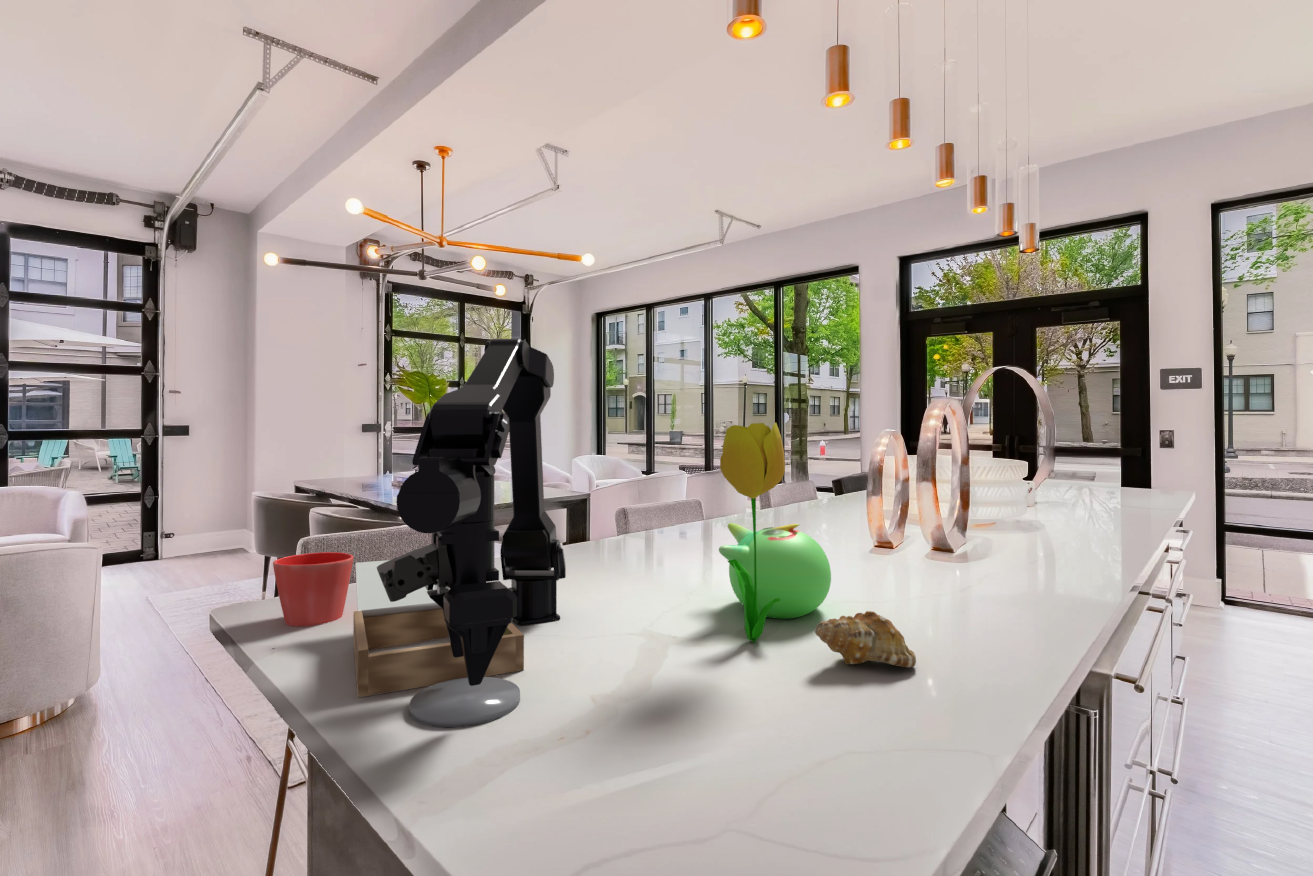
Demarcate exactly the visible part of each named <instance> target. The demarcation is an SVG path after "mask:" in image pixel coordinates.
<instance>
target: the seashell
mask: <svg viewBox="0 0 1313 876" xmlns="http://www.w3.org/2000/svg"><path fill="white" fill-rule="evenodd" d="M814 633H815V635H816V636H817V637H818V638H819V639H820V640H821V641H822V643H825V644H826V645H827V647H828V648H829V649H830V650H831V651H832V652H834V653H838V654H840V655H841V657H842V658H843V659H844V663H845V664H846V665H855V664H859V665H860V664H863V663H865V662H868V661H873V662H879V663H884V664H887V665H892V666H897V667H903V668H913V667H915V666H916V665H917V664H916V663H917V657H916V654H915V652H914V651H913V650H911V649H910V648H909V647H908V645H907V643H906V641H905V637H904V636H903V634H902V632H900V630H899V629H897V628H896V626H895V625H894V624H893V622H892V621H891V620H890V619H889V618H886V617H884V616H882V615H880V614H877V613H876V612H875V611H872V610H866V611H865V612H864V613H862V612H857V613H856V614H855V615H854V616H852V615H848V616H845V615H841V616H839V618H838V619H836V618H830V619H828V620H823V621H821V622H818V623H817V624H816V626H815V629H814Z"/></svg>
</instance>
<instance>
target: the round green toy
mask: <svg viewBox="0 0 1313 876" xmlns="http://www.w3.org/2000/svg"><path fill="white" fill-rule="evenodd" d="M800 525H801V524H800V523H792V524H786V525H782V526H781V525H780V526H774V527H773V526H771V527H765V528H762V529H760V530H756V572H757V605H758V609H759V612H760V613H761V611H762V609H763V608H764V606H766V605H767V604H768V603H770V602H771V601H772V600H774V599H775V598H776V599H777V598H778V599H780V601H778V602H775V603H773V606H772V607H771V608H770V610H769V612H768V614H767V617H766V618H769V619H779V620H780V619H781V620H784V619H785V620H788V619H796V618H800V617H803V616H805V615H808V614H810V613H811V612H813V611H815V610H816V609H817V608H819V607H820V606H821V605H822V603H824V601H825V599H826V598H827V596H828V594H829V592H830V588H831V583H832V572H831V565H830V562H829V561H830V560H829V559H828V557H827V554H826V552H825V551H824V549H823V547H822V546H821V544H819V542H817V541H816V539H814V538H813V537H812V536H810V535H808V534H806V533H805V532H802V531H800V530H797V529H796V528H797V527H799V526H800ZM727 528H728V530H729V532H730V534H731V535H732V536H733V537H734V539H735V540H736V542H737V544H735V545H734V544H723V545H720V546H719V547H718V552H719V554H721V556H723V557H724V559H726V560H727V561H729V560H735V559H736V560H737V561H738V562H739V563H740V564H741V565H742V566H743V567H744V569H745V570H746V571H747V572H748V574H749V575H750V576H751V579H752V582H753V585H754V535H753V530H750V529H748V528H746V527H744V526H742V525H739V524H737V523H734V522H729V523H727ZM728 569H729V570H728V575H729V582H730V585H731V588H732V591H733V593H734V595H735V596H736V598H737V599H738V601H739V602H740V604H742V605H743V606H744V600H743V596H742V592H741V589H740V586H739V582H738V576H737V573H736V570H735V568H734V567H733V566H732V565H731V564H730V563H728Z"/></svg>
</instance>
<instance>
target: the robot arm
mask: <svg viewBox="0 0 1313 876" xmlns="http://www.w3.org/2000/svg"><path fill="white" fill-rule="evenodd" d="M554 372H555V370H554V364H553V362H552V360H551V359H550V357H549V355H548V354H547V353H545V352H543V351H541V350H538V349H537V348H534V347H533V346H532V347H531V346H530V344H529V343H528V342H527V341H526V340H522V339H521V338H491V339H490V340H487V341H486V342H485V344H484V351H483V355H482V356H481V357H480V359H479V361H478V363H477V364H476V366H475V368H474V369H473V371H472V372H471V373H470V376H469V377H468V378H467V380H466V382H465V383H464V385H463V386H462V387H461V388H459V389H456V390H453V391H449V392H446V393H444V394H443V395H442V396H441V397H440V398H439V399H438V400H436V401H435V403H433V405H432V406H431V408H430V410H429V411H428V412H427V415H426V417H425V419H424V422H423V426H422V429H421V432H420V435H419V438H418V442H417V444H416V448H415V451H414V454H413V458H412V460H411V461H412V462H411V463H412V465H413V466H415V467H417V466H418V471H415V472H414V473H412V474H410V475H409V476H408V477H407V478H406V479H405V480H404V481H403V483H402V484H401V486H400V488H399V490H398V493H397V495H396V508H397V509H396V510H397V512H398V516H400V518H401V520H402V521H403V523H404V524H405V525H406V526H407V527H409V528H410V529H412V530H413V531H415V532H417V533H422V534H431V543H430V544H428V545H425V546H422V547H420V548H417V549H414V550H411V551H409V552H407V553H404V554H402V555H399V556H396V557H394V558H391V559H390V560H389V559H388V560H389V561H387V562H385V563H382V564H381V565H379V566H378V567H377V570H378V573H379V576H380V578H381V581H382V583H383V586H384V588H385V590H386V593H387V595H388V598H389V600H390V602H395V601H398V600H401V599H403V598H405V597H406V595H407V594H409V593H411V592H414V591H416V590H418V589H421V588H423V587H425V588H426V589H427V590H429V591H427V594H428V595H429V597H430V598H431V599H432V600H433V601H434V602H435V603H437V604H438V605H439V606H440V607H441V608H442V610H443V614H444V618H445V619H444V620H445V623H446V627H447V632H448V636H449V637H448V640H449V643H450V645H451V649H452V654H453V657H455V658H457V657H462V656H464V660H465V666H466V672H467V677H468V682H469V685H470V686H474V685H479V684H481V682H482V680H483V678H484V676H485V673H486V671H487V669H488V667H489V664H490V662H491V660H492V658H493V655H494V653H495V651H496V649H497V647H498V645H499V643H500V641H501V639H502V637H503V635H504V633H505V631H506V629H507V627H508V625H509V624H510V623H512V622H513V621H514V623H516V624H517V625H519V626H520V625H528V624H529V625H530V624H534V623H535V624H536V623H545V622H551V621H557V620H561V615H560V614H559V613H557V612H558V611H557V603H558V602H557V589H558V588H557V585H558V584H557V582H558V581H559V580H562V579H565V578H566V577H567V575H566V573H567V571H566V569H567V568H566V567H567V566H566V560H565V559H566V558H565V553H564V549H563V548H562V545H561V541H560V539H558V538H557V528H556V524H555V523H554V522H553V520H552V518H551V517H550V516H549V514H548V513H547V512H546V510H545V497H544V496H545V495H544V493H545V492H544V471H543V470H544V469H543V447H542V443H543V442H542V427H541V426H542V425H541V424H542V423H541V414H542V413H543V411H544V409H545V407H546V406H547V404H548V402H549V400H550V399H551V396H552V395H551V388H553V386H554V382H555V373H554ZM506 417H507V418H508V421H507V418H506ZM508 436H509V450H510V451H509V453H510V454H509V455H510V470H511V471H510V472H511V474H510V475H511V489H512V491H511V493H512V508H513V509H512V512H513V516H512V519H511V520H510V522H509V524H508V526H507V527H506V529H505V531H504V533H503V535H502V541H501V544H500V563H501V572H502V581H509V580H510V582H511V584H510V587H507V586H506V585H505V584H503V583H502V582H501V581H500V570H499V569H497V568H496V567H495V542H499V541H500V531H499V529H496V528H495V474H496V467H495V465H496V464H497V462H498V459H501V458H502V457H503V453H504V450H505V447H506V443H507V440H508ZM434 585H435V590H433V586H434ZM512 624H513V623H512ZM485 677H486V676H485Z"/></svg>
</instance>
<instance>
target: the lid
mask: <svg viewBox="0 0 1313 876" xmlns="http://www.w3.org/2000/svg"><path fill="white" fill-rule="evenodd" d="M387 561H389V559H388V560H386V559H385V560H374V561H363V562H355V583H356V603H357V604H356V606H357V609H356V611H362V614H363V618H365V617H374V616H383V615H392V614H400V613H409V612H418V611H427V610H436V609H442V608H441V607H440V606H439V605H438V604H437V603H435V602H434V601H433V600H432V599H431V598H430V597H429V595H428V594H427V591H429V590H427V589H426V588H425V587H423V588H421V589H418V590H416V591H414V592H411V593H409V594H407V595H406V597H405V598H403V599H401V600H398V601H395V602H390V600H389V598H388V595H387V593H386V590H385V588H384V586H383V583H382V581H381V578H380V576H379V573H378V570H377V567H378V566H379V565H381V564H382V563H385V562H387ZM433 590H435V585H434V586H433Z"/></svg>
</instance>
